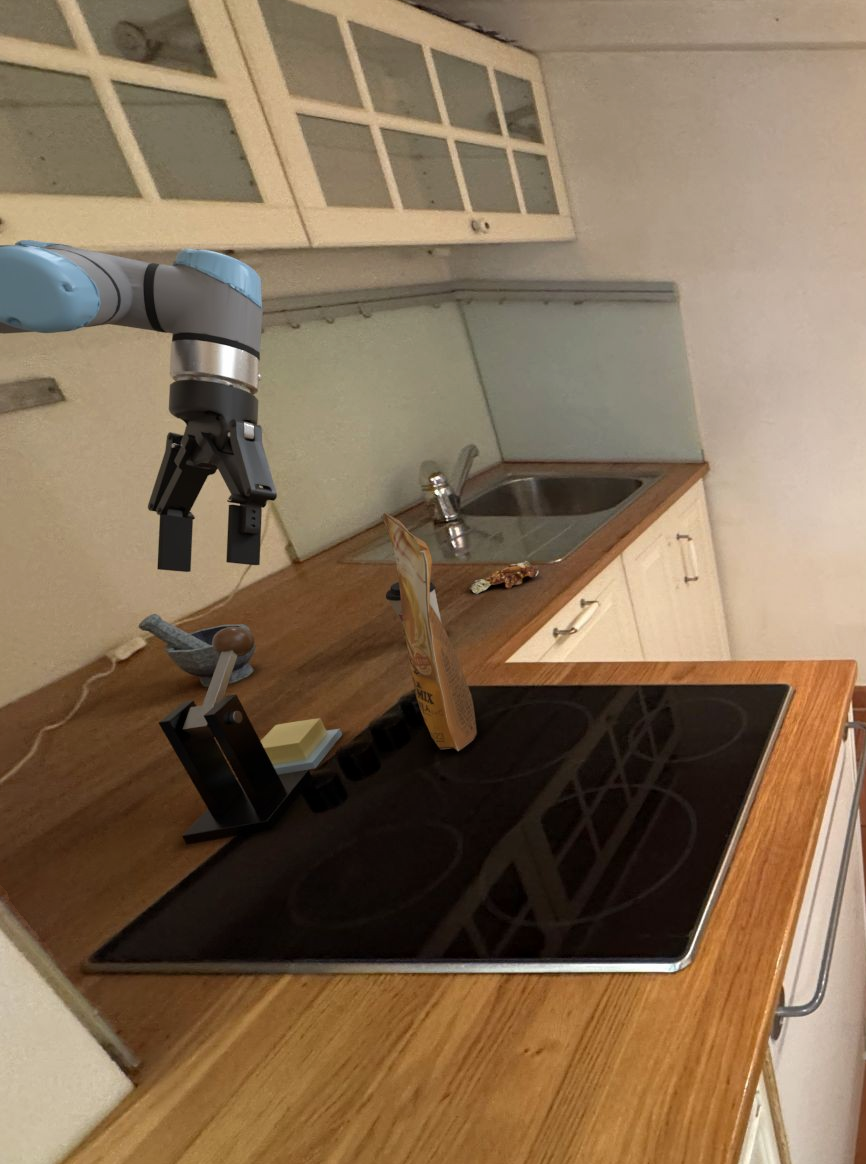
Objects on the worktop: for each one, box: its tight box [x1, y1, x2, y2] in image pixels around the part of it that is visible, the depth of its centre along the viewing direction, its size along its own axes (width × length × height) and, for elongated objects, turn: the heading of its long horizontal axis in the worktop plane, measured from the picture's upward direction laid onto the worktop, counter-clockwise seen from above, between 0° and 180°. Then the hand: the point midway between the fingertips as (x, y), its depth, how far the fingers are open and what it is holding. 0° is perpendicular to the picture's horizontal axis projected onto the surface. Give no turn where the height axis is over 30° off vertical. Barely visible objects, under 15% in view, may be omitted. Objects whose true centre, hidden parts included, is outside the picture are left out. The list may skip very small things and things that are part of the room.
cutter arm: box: [183, 627, 255, 740], centre depth 87 cm, size 14×4×4 cm, turn 17°
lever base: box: [158, 694, 313, 845], centre depth 86 cm, size 10×8×14 cm
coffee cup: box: [385, 581, 442, 628], centre depth 127 cm, size 7×7×10 cm
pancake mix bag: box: [380, 512, 478, 752], centre depth 99 cm, size 7×19×28 cm, turn 38°
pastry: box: [469, 560, 540, 595], centre depth 150 cm, size 7×12×4 cm, turn 138°
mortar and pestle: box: [137, 613, 256, 688], centre depth 116 cm, size 11×9×12 cm
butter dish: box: [260, 717, 343, 775], centre depth 98 cm, size 7×8×4 cm
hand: (207, 567), depth 89 cm, fingers open, 13 cm apart
